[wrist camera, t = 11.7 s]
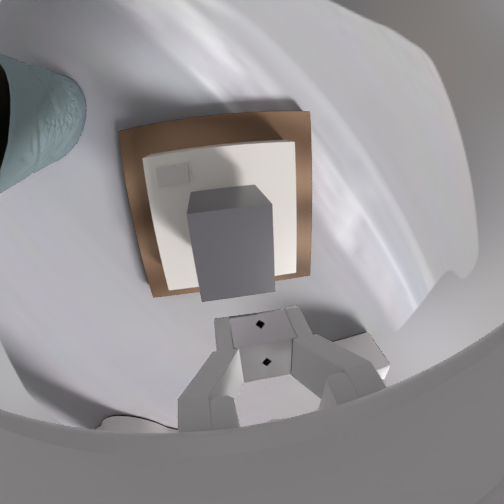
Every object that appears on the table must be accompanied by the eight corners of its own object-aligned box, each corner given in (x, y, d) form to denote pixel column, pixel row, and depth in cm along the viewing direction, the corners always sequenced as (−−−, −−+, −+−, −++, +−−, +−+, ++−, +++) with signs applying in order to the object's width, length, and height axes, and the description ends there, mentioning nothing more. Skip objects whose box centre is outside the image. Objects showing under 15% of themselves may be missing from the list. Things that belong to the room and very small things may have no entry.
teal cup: (112, 88, 18) (41, 64, 7) (69, 188, 21) (-7, 238, 10) (38, 62, 14) (-40, 46, 4) (3, 154, 17) (-75, 184, 7)
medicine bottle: (359, 361, 39) (392, 417, 28) (319, 373, 38) (347, 436, 27) (368, 330, 36) (409, 390, 25) (323, 343, 35) (359, 412, 24)
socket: (286, 257, 26) (298, 276, 23) (171, 272, 25) (168, 294, 22) (283, 139, 21) (297, 142, 18) (150, 154, 20) (140, 159, 17)
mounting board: (305, 268, 29) (309, 275, 28) (155, 289, 27) (153, 297, 26) (303, 112, 22) (310, 111, 20) (123, 131, 20) (118, 131, 18)
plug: (256, 263, 23) (275, 311, 17) (204, 270, 22) (206, 322, 16) (251, 180, 20) (272, 203, 14) (191, 187, 19) (186, 214, 13)
